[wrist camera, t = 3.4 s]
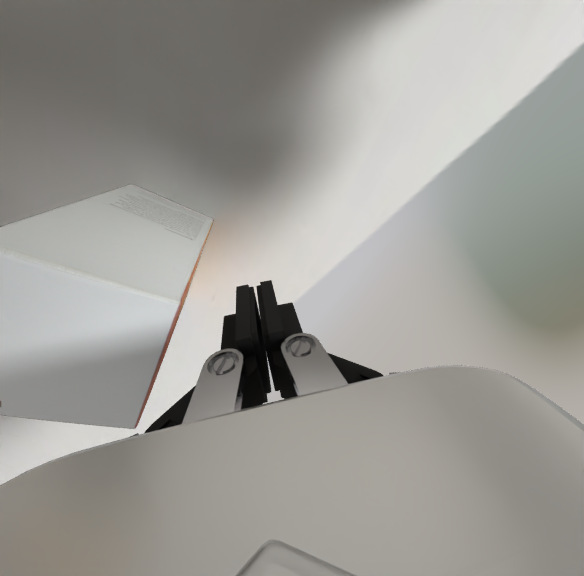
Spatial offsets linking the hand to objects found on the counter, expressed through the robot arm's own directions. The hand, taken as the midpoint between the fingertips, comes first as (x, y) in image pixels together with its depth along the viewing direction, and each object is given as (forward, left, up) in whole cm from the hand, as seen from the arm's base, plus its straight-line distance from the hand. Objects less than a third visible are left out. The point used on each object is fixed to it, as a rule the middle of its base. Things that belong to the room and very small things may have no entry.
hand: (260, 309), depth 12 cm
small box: (+7, -1, -11) cm, 14 cm away
